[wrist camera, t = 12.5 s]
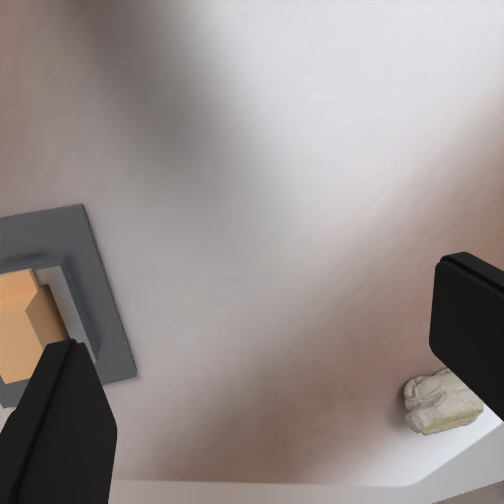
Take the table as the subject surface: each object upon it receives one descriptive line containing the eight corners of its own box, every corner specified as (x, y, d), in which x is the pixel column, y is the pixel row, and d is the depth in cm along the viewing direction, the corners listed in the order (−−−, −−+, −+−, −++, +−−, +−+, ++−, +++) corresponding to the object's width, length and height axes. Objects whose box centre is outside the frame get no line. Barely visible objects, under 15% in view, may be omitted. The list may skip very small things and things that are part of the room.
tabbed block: (-8, 267, 34) (-40, 300, 29) (38, 258, 35) (15, 289, 29) (35, 357, 38) (14, 401, 33) (75, 348, 39) (61, 389, 34)
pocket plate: (-84, 232, 33) (-106, 245, 30) (82, 203, 35) (75, 213, 32) (7, 401, 41) (-5, 423, 38) (136, 370, 43) (134, 389, 40)
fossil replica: (470, 379, 56) (445, 334, 53) (520, 417, 48) (495, 367, 45) (407, 428, 56) (377, 386, 52) (447, 474, 48) (415, 429, 45)
